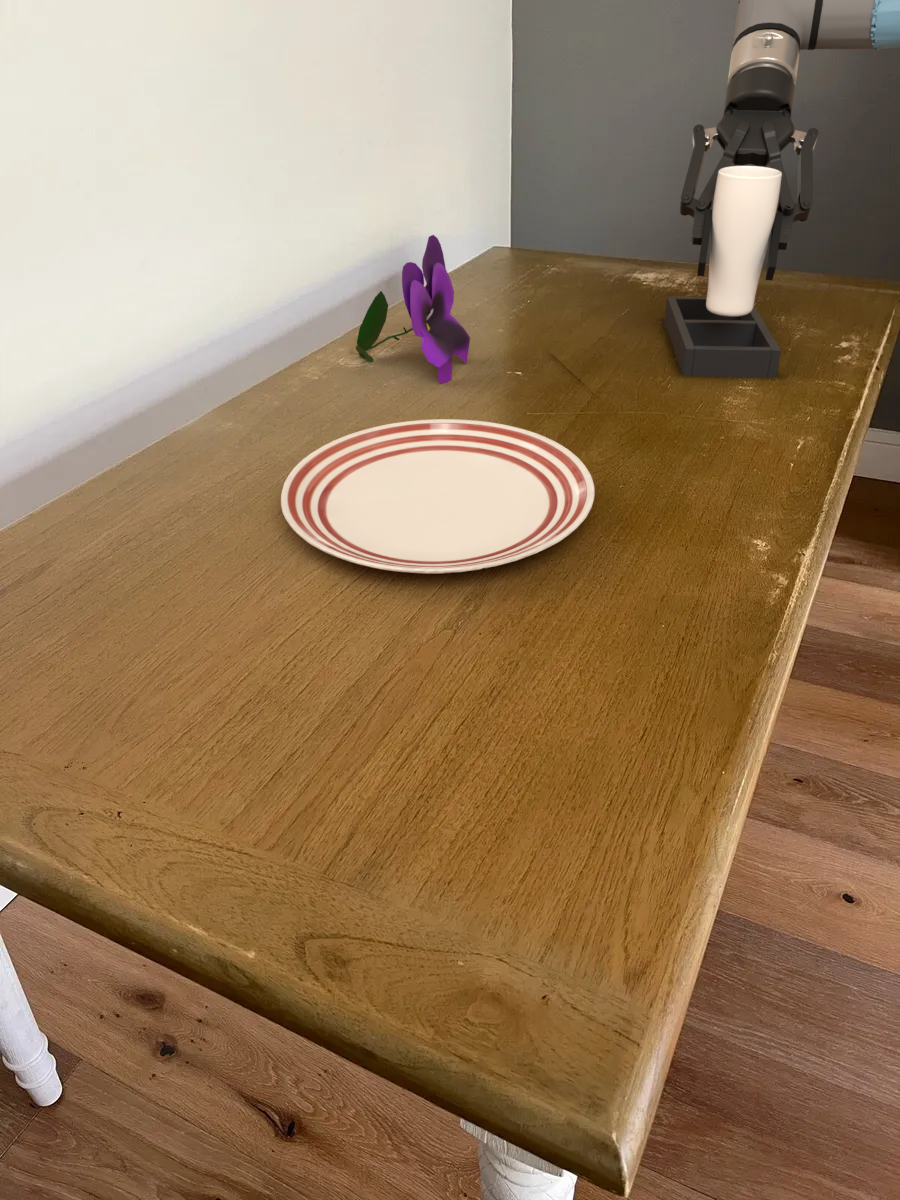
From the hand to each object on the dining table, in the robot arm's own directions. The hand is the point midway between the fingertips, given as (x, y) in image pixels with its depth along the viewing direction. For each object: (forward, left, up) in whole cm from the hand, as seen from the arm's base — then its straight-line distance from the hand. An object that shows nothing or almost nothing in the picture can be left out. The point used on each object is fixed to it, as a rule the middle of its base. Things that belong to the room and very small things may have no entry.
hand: (735, 271), depth 105 cm
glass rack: (-3, -7, -13) cm, 15 cm away
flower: (+34, -15, -13) cm, 39 cm away
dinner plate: (+40, +22, -13) cm, 47 cm away
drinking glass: (-2, -3, -6) cm, 7 cm away
